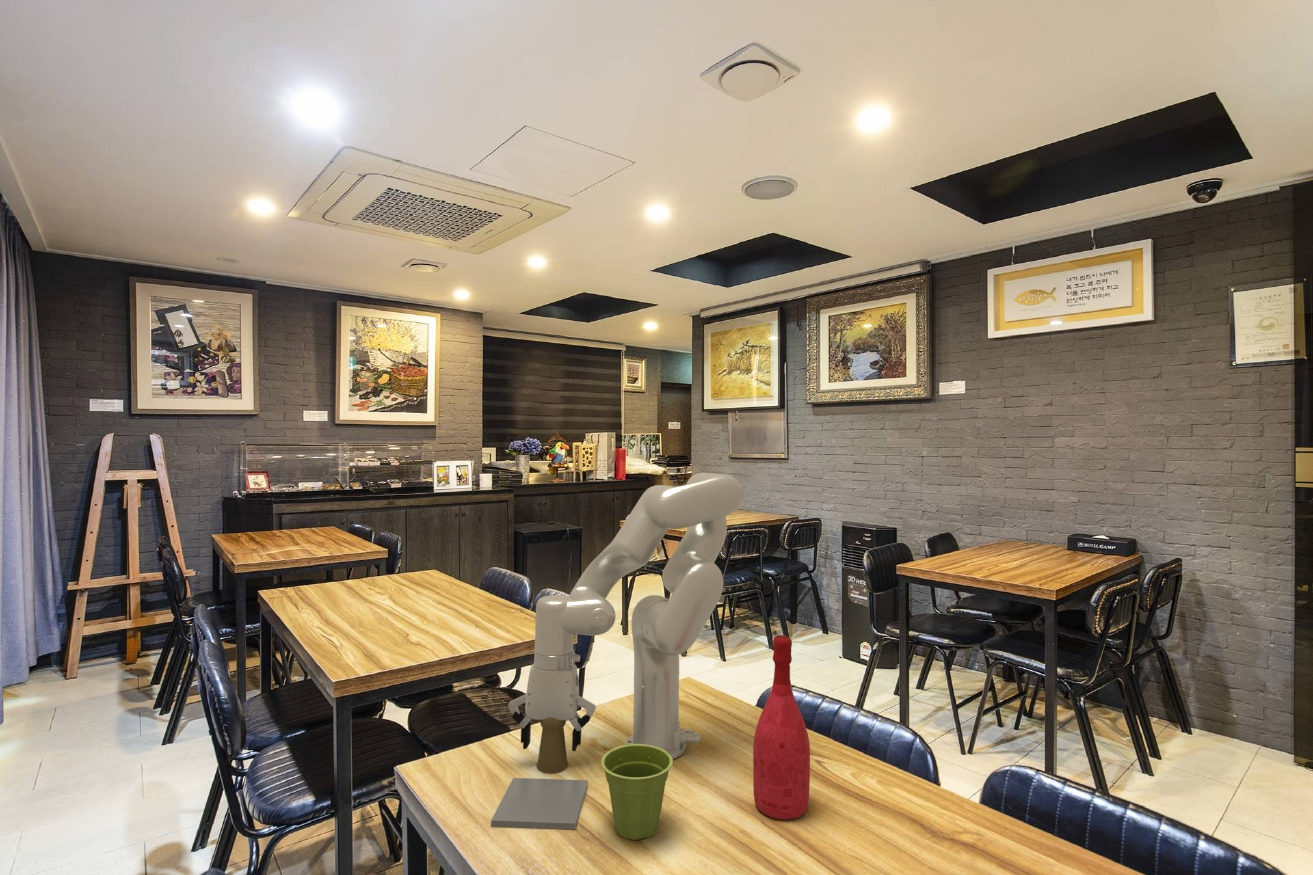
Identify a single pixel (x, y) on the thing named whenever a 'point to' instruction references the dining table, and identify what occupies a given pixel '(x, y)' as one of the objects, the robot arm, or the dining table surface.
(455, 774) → the dining table surface
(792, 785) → the wine bottle
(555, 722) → the brown pawn
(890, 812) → the dining table surface
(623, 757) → the plant pot
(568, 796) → the tile
